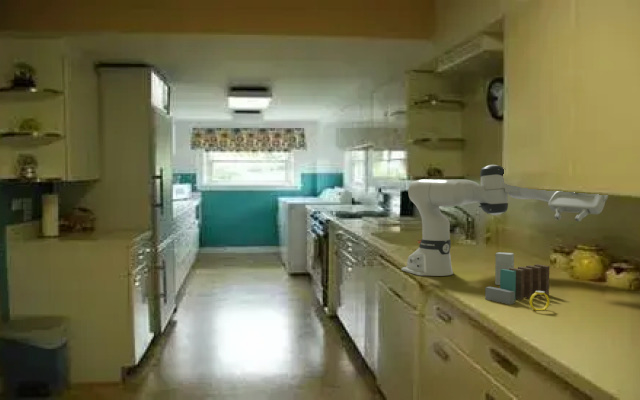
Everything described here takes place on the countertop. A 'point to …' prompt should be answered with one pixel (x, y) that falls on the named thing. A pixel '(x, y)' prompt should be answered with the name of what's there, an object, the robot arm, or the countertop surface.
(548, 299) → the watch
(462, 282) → the countertop surface
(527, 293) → the domino
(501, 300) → the end block
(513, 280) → the domino
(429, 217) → the robot arm
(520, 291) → the domino
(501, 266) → the skincare box
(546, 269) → the domino
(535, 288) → the domino
